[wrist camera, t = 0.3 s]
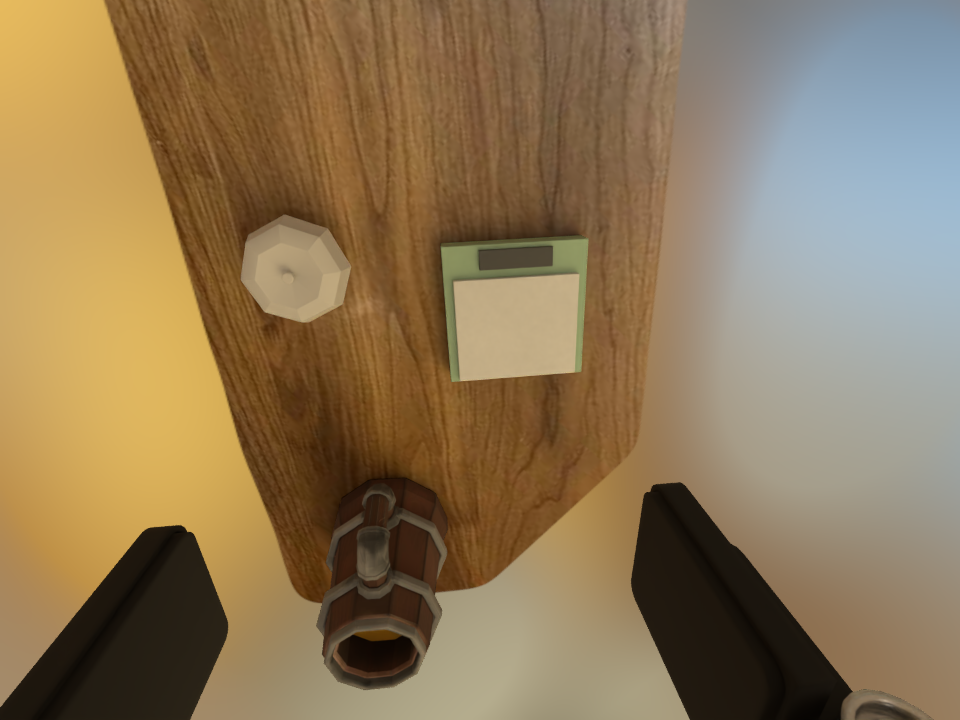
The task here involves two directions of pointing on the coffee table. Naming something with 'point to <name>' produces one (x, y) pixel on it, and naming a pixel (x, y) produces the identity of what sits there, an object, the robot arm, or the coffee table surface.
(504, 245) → the scale
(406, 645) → the mug
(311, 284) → the white apple
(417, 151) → the coffee table surface
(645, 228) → the coffee table surface
